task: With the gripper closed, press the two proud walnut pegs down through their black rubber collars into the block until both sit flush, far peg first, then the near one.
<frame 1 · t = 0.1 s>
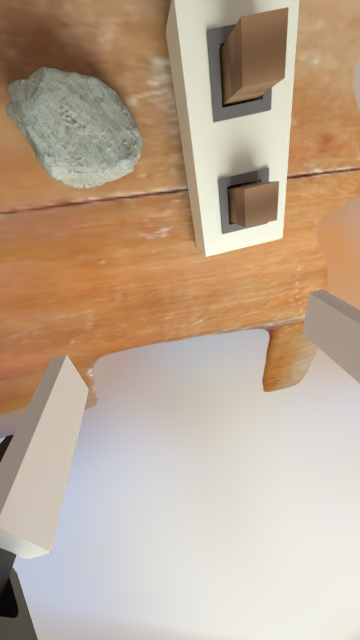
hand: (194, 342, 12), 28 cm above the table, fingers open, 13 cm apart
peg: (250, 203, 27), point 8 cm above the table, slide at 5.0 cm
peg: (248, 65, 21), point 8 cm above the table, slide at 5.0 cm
socket block: (224, 153, 31), on the table
decorative stone: (89, 145, 28), on the table
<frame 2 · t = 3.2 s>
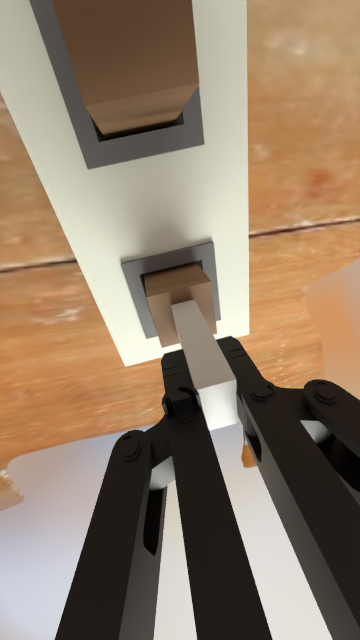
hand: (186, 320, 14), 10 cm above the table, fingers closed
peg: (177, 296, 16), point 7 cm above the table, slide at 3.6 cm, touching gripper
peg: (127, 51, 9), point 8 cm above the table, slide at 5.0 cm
socket block: (151, 203, 19), on the table
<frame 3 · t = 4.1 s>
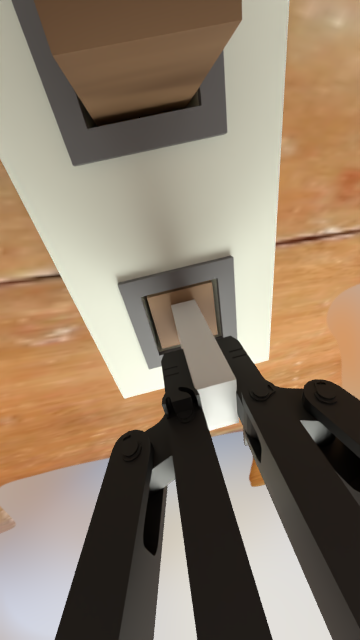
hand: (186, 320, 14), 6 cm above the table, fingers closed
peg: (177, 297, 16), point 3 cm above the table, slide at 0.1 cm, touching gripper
socket block: (155, 207, 16), on the table
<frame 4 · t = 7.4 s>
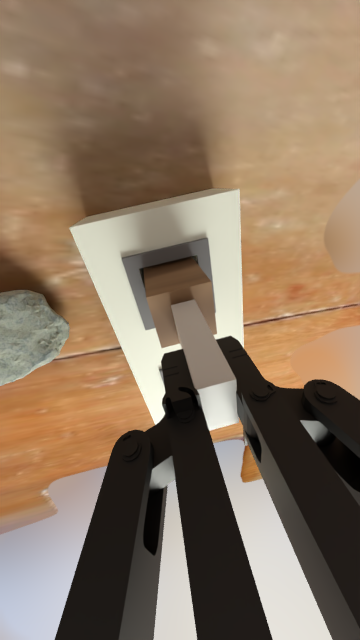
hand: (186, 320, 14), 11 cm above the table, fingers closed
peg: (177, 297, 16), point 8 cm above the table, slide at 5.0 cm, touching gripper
socket block: (175, 311, 26), on the table
decorative stone: (8, 320, 24), on the table
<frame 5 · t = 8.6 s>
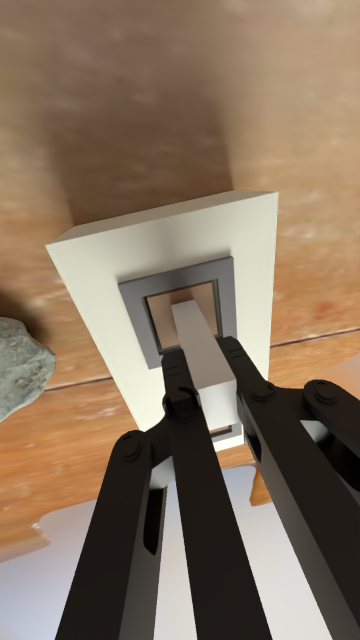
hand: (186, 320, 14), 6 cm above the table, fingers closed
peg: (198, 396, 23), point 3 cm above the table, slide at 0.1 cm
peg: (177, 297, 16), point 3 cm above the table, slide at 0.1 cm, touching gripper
socket block: (183, 335, 22), on the table
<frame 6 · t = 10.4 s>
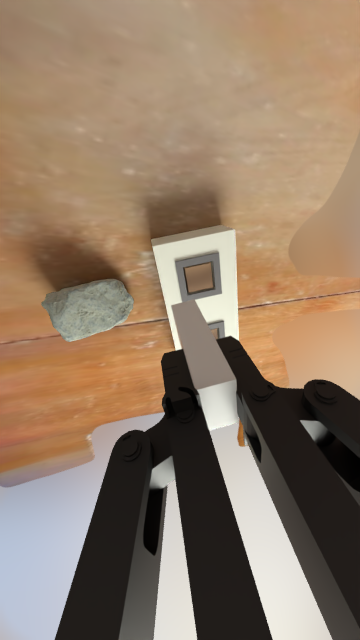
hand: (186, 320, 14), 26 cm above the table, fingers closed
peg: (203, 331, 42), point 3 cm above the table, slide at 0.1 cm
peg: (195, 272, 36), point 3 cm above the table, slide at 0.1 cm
socket block: (195, 297, 42), on the table
decorative stone: (95, 298, 39), on the table
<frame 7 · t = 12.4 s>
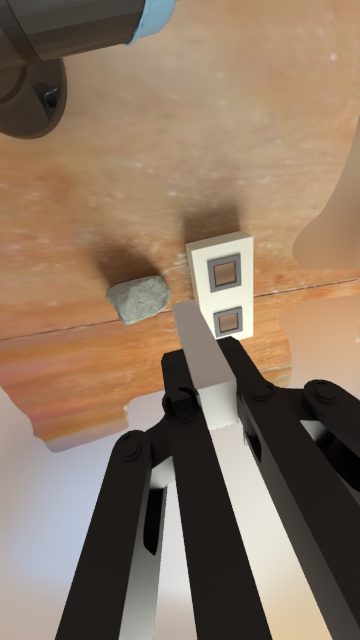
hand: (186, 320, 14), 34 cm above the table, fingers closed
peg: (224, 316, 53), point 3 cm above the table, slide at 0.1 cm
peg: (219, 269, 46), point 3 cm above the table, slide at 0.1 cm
socket block: (217, 288, 52), on the table
decorative stone: (139, 291, 49), on the table
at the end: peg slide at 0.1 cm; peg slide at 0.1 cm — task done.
